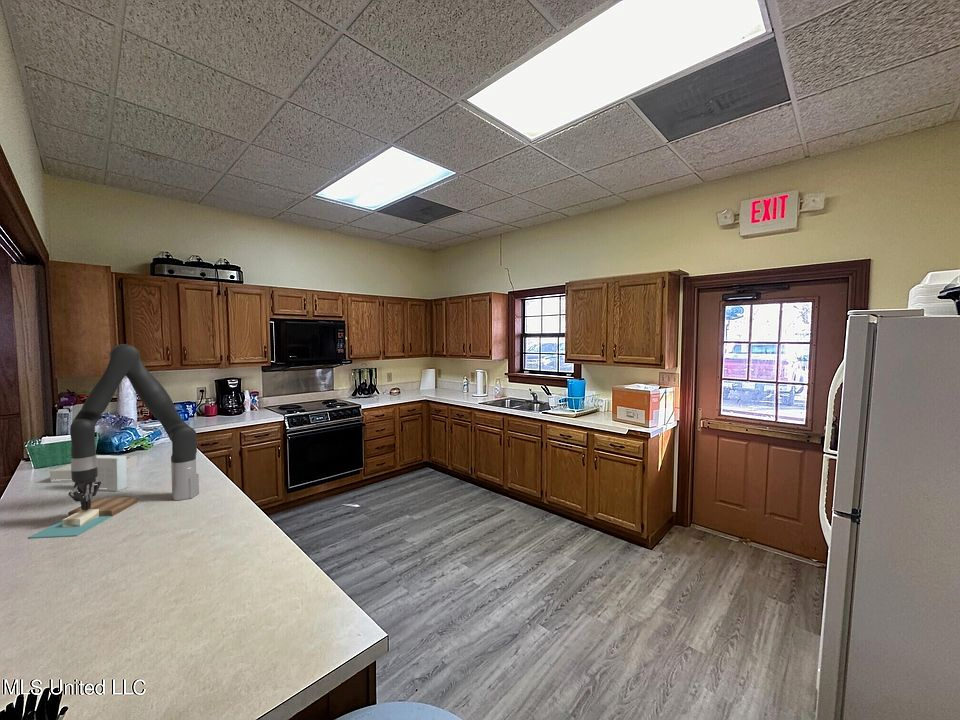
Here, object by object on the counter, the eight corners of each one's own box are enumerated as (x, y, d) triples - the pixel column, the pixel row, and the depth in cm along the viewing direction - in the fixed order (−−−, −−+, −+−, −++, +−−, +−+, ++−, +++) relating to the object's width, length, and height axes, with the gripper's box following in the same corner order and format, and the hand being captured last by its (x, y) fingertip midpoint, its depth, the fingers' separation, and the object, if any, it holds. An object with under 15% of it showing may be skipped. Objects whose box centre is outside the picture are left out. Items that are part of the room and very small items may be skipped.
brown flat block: (136, 502, 178) (136, 497, 178) (112, 516, 164) (111, 510, 164) (96, 504, 176) (96, 498, 176) (68, 518, 162) (68, 512, 162)
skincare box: (128, 487, 196) (127, 455, 195) (117, 491, 190) (116, 458, 190) (89, 485, 198) (88, 454, 197) (77, 489, 193) (76, 457, 192)
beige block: (99, 516, 163) (98, 509, 163) (80, 526, 154) (79, 518, 154) (82, 516, 163) (82, 509, 162) (62, 527, 154) (62, 519, 153)
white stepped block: (137, 466, 228) (137, 455, 228) (103, 481, 204) (102, 469, 204) (90, 467, 225) (90, 457, 225) (50, 482, 201) (49, 471, 201)
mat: (111, 517, 164) (111, 516, 164) (76, 536, 148) (76, 535, 148) (67, 518, 162) (67, 517, 162) (27, 538, 146) (27, 537, 146)
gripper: (80, 472, 154) (82, 516, 155) (108, 462, 167) (109, 502, 168) (58, 473, 153) (60, 517, 154) (88, 462, 166) (89, 503, 167)
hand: (86, 509), depth 161 cm, fingers closed
